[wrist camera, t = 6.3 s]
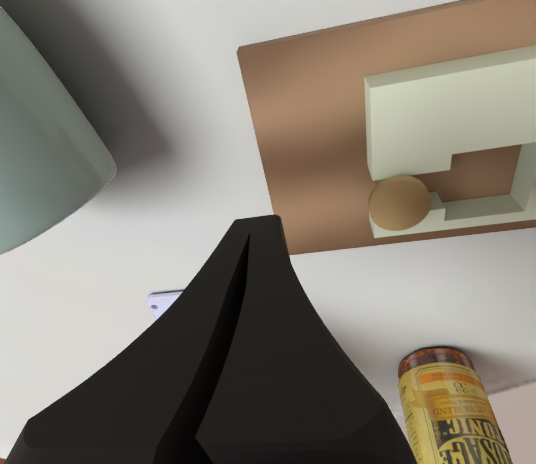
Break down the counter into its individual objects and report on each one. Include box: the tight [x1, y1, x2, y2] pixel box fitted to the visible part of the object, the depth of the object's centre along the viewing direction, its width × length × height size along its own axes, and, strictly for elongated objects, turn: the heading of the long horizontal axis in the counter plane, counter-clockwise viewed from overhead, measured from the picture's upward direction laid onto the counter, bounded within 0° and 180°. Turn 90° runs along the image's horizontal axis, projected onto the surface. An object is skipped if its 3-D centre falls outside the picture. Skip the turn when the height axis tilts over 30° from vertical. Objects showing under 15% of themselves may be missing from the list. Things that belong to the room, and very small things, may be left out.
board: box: [237, 0, 536, 255], centre depth 17 cm, size 12×23×4 cm, turn 101°
